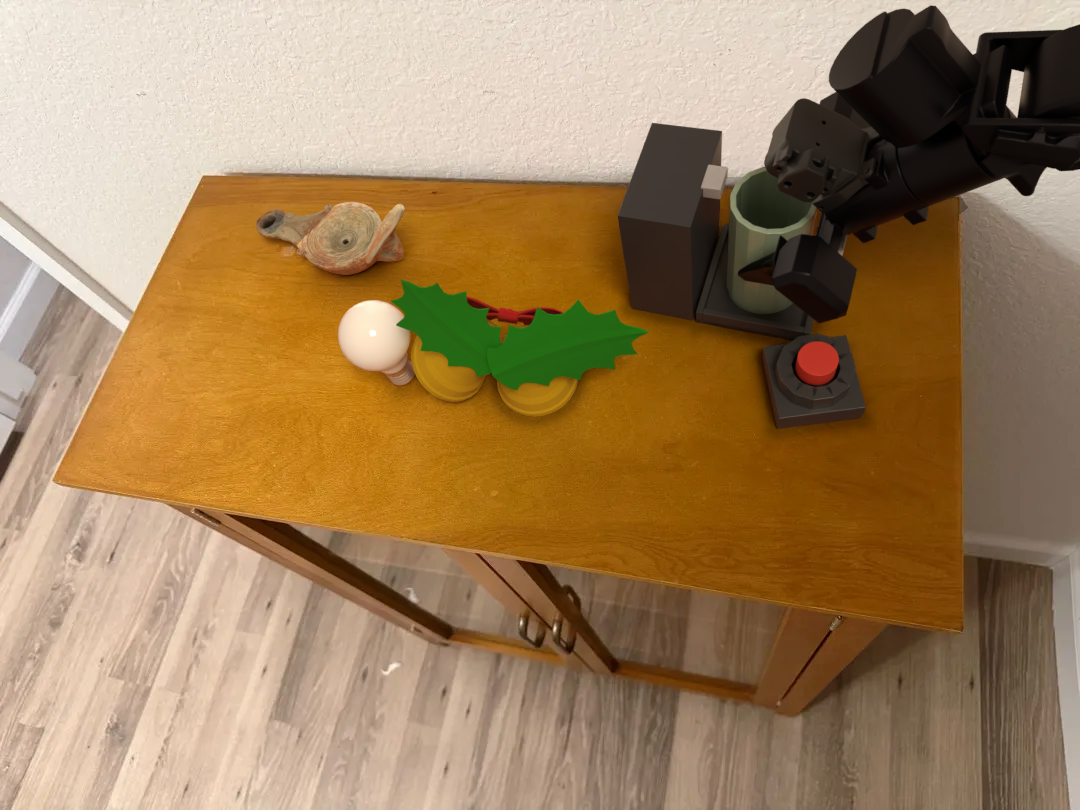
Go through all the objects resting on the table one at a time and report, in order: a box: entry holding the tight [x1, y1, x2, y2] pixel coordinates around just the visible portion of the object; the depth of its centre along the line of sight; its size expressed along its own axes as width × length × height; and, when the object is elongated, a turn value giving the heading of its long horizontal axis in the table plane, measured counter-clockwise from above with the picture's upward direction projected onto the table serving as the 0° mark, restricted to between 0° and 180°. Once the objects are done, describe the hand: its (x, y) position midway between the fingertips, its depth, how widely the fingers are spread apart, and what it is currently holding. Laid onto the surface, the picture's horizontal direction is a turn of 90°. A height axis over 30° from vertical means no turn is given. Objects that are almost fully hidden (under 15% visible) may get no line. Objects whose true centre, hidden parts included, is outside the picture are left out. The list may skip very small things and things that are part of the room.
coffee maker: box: [617, 122, 815, 341], centre depth 67 cm, size 16×10×14 cm, turn 70°
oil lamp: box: [255, 201, 406, 276], centre depth 80 cm, size 9×21×10 cm, turn 69°
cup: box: [726, 166, 819, 314], centre depth 67 cm, size 7×7×12 cm
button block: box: [761, 333, 867, 430], centre depth 66 cm, size 7×7×4 cm
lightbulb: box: [337, 299, 416, 386], centre depth 71 cm, size 6×6×11 cm
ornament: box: [390, 279, 650, 418], centre depth 68 cm, size 21×8×15 cm, turn 84°
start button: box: [795, 341, 839, 385], centre depth 63 cm, size 3×3×2 cm
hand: (752, 237), depth 67 cm, fingers open, 8 cm apart
